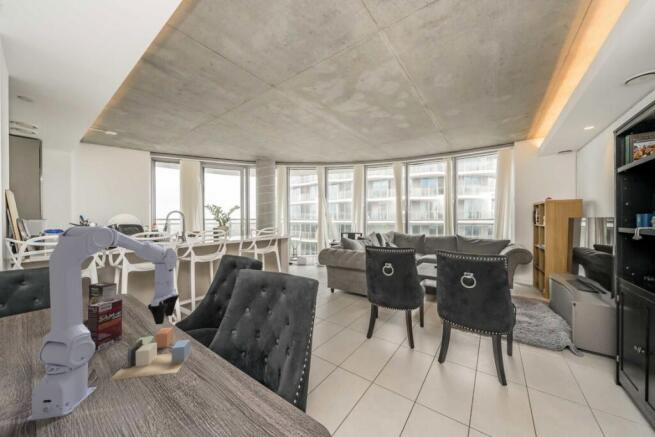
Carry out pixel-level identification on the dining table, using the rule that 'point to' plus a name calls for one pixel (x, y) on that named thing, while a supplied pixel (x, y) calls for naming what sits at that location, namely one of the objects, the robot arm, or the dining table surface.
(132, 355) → the bookend
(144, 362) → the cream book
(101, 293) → the coffee box
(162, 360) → the shelf board
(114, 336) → the supplement box
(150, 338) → the flat book
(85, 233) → the robot arm
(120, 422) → the dining table surface
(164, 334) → the terracotta cube
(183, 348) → the blue-grey block
